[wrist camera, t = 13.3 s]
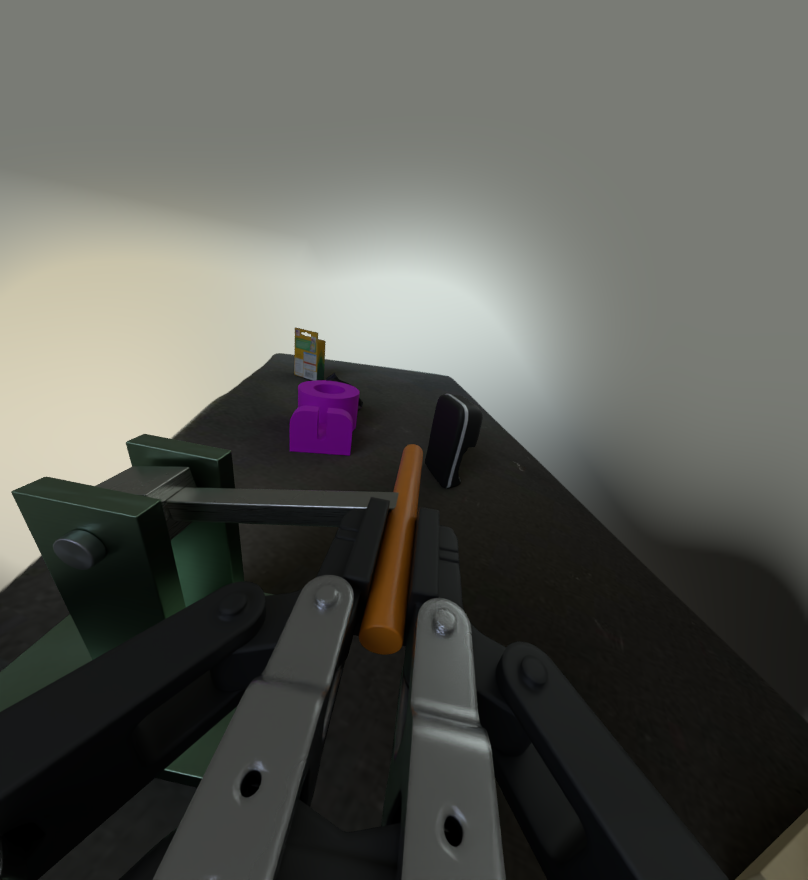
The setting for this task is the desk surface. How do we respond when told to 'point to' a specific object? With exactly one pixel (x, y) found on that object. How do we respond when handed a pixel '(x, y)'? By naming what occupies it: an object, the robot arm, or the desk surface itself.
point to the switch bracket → (124, 572)
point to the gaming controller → (335, 378)
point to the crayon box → (309, 355)
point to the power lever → (303, 509)
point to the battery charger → (452, 437)
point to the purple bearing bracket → (324, 417)
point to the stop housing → (783, 856)
